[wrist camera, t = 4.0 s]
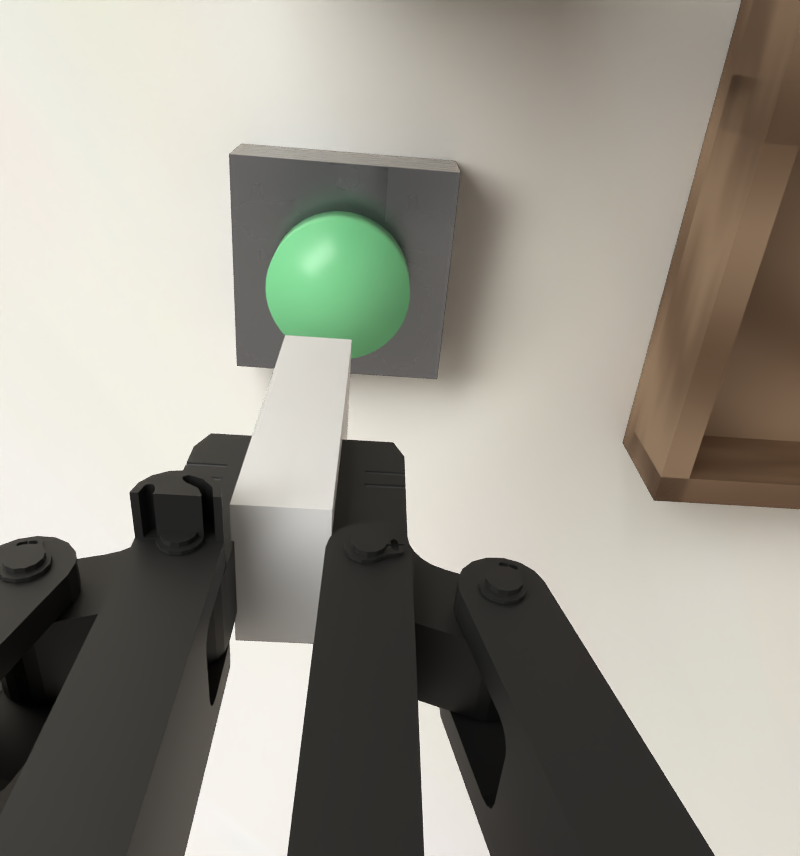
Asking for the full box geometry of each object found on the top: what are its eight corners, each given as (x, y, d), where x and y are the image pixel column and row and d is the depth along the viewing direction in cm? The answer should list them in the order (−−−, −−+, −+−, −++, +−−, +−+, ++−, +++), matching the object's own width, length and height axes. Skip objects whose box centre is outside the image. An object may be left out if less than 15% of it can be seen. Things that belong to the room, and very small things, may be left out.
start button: (279, 191, 24) (264, 215, 21) (413, 202, 24) (416, 226, 21) (279, 318, 26) (266, 354, 23) (402, 326, 26) (404, 363, 23)
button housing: (240, 143, 23) (229, 153, 22) (455, 161, 24) (460, 172, 22) (246, 343, 27) (236, 365, 25) (433, 355, 27) (437, 378, 25)
